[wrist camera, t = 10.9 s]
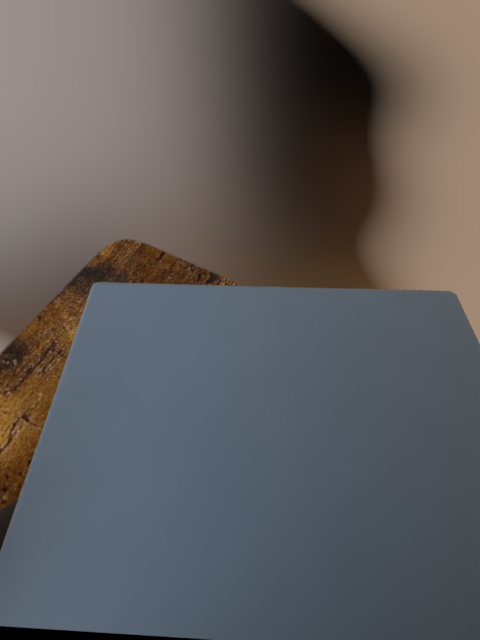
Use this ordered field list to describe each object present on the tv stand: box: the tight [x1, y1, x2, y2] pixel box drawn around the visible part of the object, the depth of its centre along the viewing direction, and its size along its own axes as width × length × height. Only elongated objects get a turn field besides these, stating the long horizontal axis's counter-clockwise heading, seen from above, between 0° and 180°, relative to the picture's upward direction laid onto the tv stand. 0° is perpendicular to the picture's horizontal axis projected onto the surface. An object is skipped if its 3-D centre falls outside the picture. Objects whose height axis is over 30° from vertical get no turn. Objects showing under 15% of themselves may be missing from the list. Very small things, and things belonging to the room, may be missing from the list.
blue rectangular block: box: [0, 282, 480, 640], centre depth 7 cm, size 4×5×10 cm
